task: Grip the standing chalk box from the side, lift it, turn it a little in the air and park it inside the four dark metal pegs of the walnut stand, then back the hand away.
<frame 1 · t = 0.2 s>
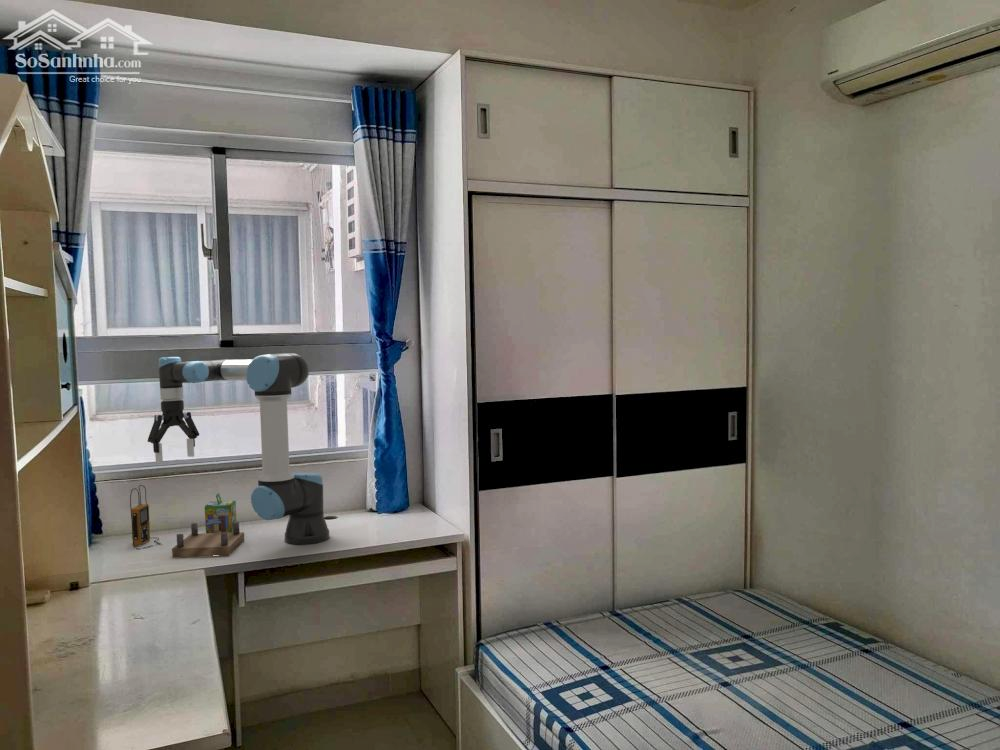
hand: (175, 459, 278), 27 cm above the table, tool pointing down, fingers open, 13 cm apart
peg stand: (209, 548, 259), on the table
multimeter: (152, 544, 267), on the table
chalk box: (221, 535, 277), on the table
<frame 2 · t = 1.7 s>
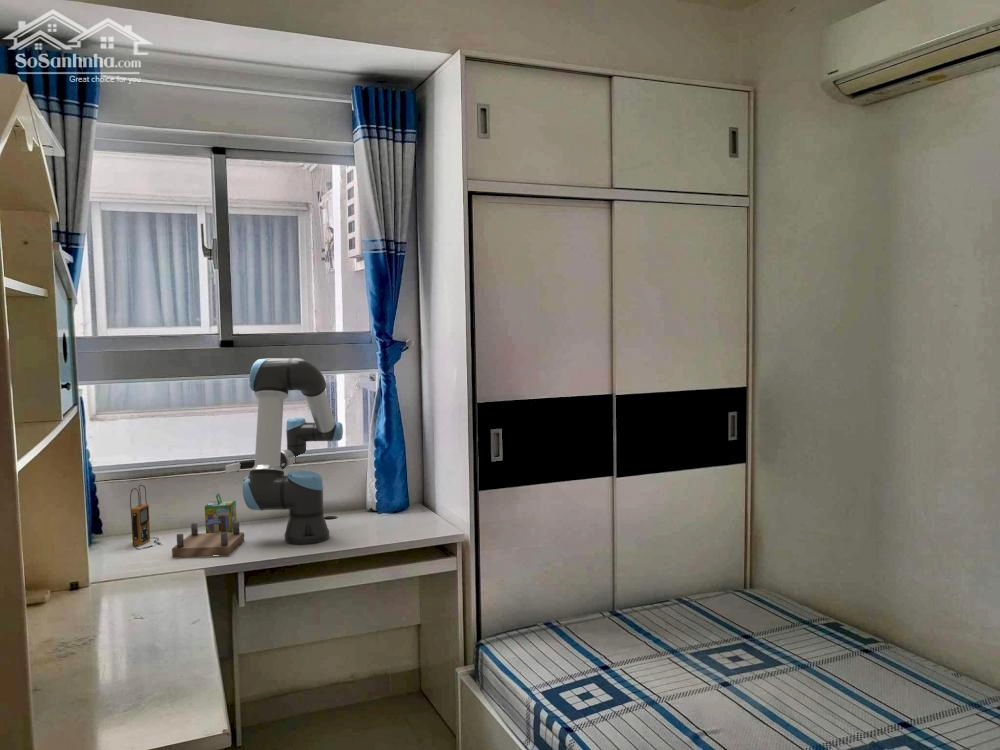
hand: (239, 470, 284), 22 cm above the table, tool horizontal, fingers open, 13 cm apart
nothing on the table moved.
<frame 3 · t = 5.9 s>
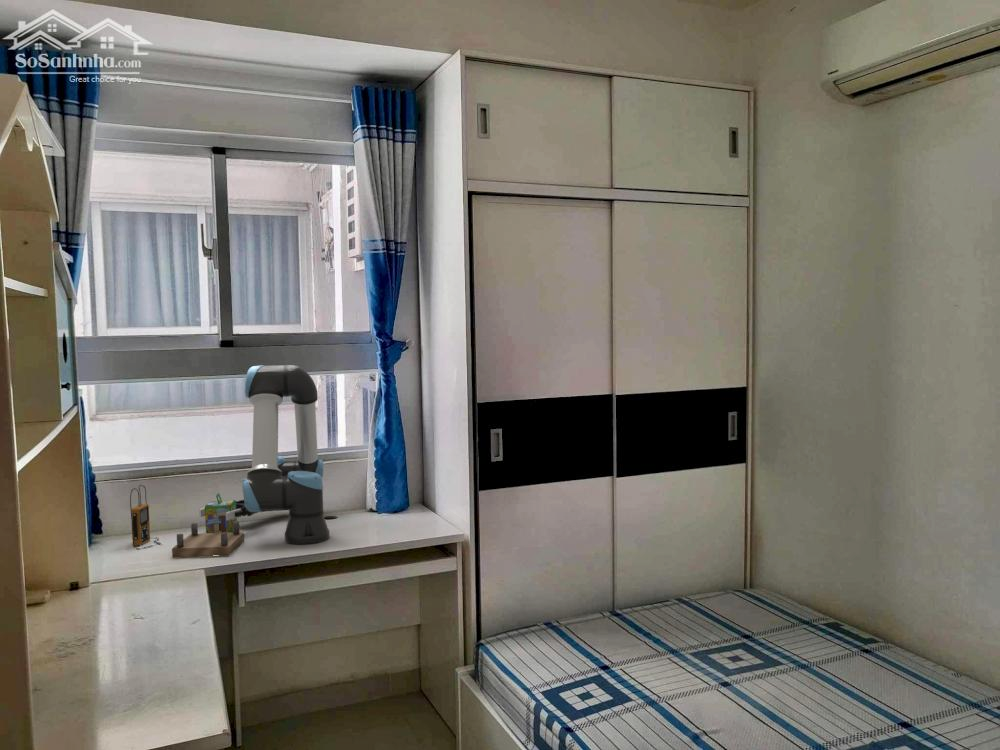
hand: (213, 514, 273), 8 cm above the table, tool horizontal, fingers closed on chalk box, 12 cm apart
chalk box: (222, 535, 277), on the table, touching gripper
everything else where it was.
when the fingers open (12 cm above the table, at t = 11.2 s): chalk box drops 1 cm, resting on peg stand.
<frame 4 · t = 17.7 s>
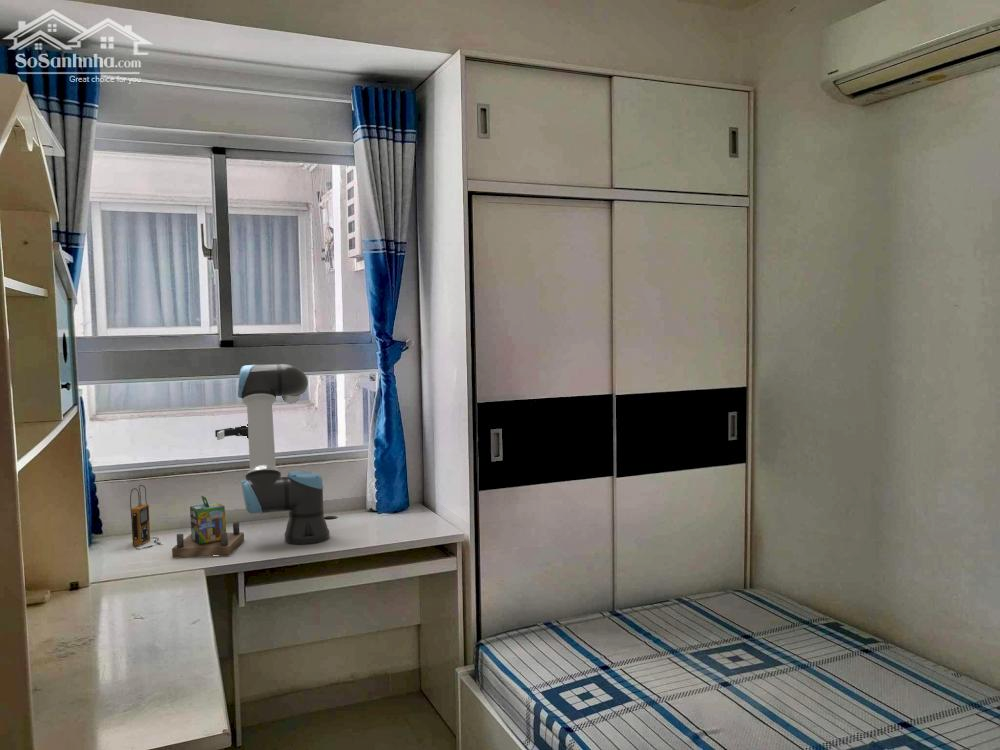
hand: (236, 435, 286), 34 cm above the table, tool horizontal, fingers open, 13 cm apart
chalk box: (208, 540, 259), point 3 cm above the table, touching peg stand
everything else where it was.
at the end: chalk box 0.2 cm off-centre on the peg stand, point 2.8 cm above the peg stand's base; chalk box tilted 0°; the gripper is holding nothing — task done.
